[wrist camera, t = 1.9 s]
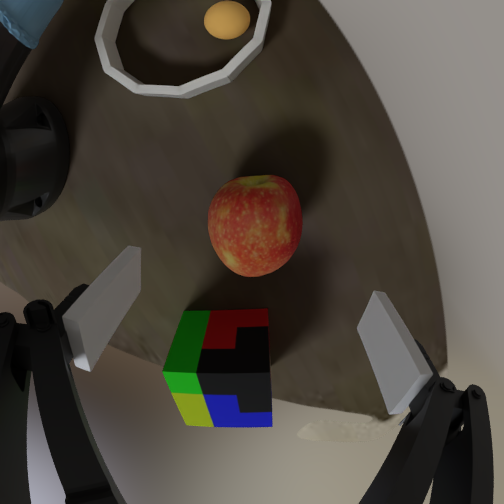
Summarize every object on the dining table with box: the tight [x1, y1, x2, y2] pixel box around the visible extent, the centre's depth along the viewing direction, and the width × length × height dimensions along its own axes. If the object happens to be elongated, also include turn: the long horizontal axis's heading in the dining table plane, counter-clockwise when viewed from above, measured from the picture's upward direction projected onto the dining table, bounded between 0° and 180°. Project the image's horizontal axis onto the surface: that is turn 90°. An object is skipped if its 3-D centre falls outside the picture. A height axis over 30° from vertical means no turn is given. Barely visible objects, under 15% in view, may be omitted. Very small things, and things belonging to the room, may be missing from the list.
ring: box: [94, 0, 272, 99], centre depth 19 cm, size 16×16×3 cm
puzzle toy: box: [162, 308, 272, 427], centre depth 30 cm, size 10×10×10 cm
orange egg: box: [204, 1, 250, 39], centre depth 18 cm, size 4×4×4 cm
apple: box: [208, 175, 303, 277], centre depth 24 cm, size 8×8×8 cm
